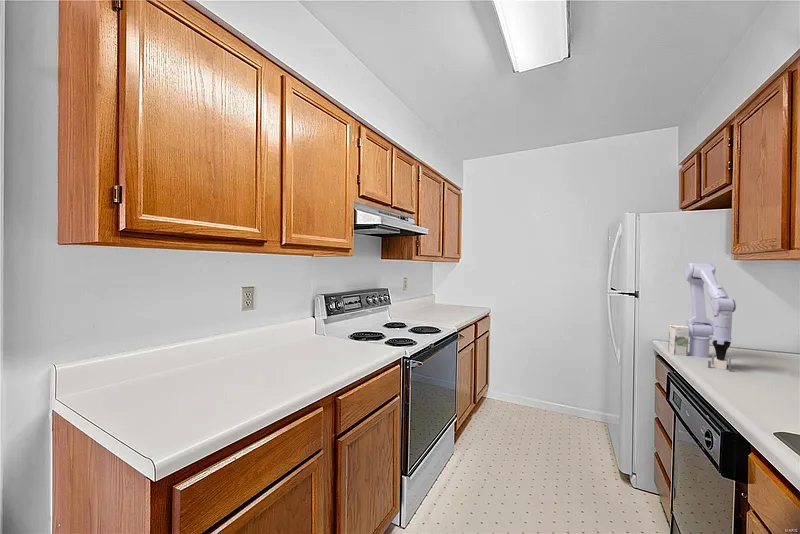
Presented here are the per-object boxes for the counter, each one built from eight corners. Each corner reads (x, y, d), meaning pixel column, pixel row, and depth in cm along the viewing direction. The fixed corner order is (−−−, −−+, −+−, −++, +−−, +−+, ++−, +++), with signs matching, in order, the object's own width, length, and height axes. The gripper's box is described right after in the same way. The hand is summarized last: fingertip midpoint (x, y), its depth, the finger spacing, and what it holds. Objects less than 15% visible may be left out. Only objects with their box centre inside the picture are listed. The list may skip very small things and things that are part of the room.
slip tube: (715, 363, 160) (715, 348, 159) (727, 365, 157) (728, 350, 157) (713, 367, 154) (714, 352, 154) (726, 369, 151) (727, 354, 151)
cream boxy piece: (712, 363, 161) (712, 353, 160) (730, 366, 156) (731, 356, 156) (711, 364, 158) (711, 354, 158) (730, 367, 154) (730, 357, 154)
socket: (708, 367, 154) (708, 360, 154) (731, 371, 149) (731, 364, 149) (707, 367, 153) (708, 361, 153) (731, 372, 148) (731, 365, 148)
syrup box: (681, 354, 177) (682, 324, 176) (687, 357, 171) (689, 326, 170) (667, 353, 178) (669, 323, 177) (673, 356, 172) (675, 326, 172)
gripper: (711, 323, 162) (709, 353, 163) (708, 327, 152) (706, 360, 152) (733, 325, 157) (731, 357, 158) (731, 330, 147) (729, 363, 148)
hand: (720, 358), depth 155 cm, fingers open, 3 cm apart
